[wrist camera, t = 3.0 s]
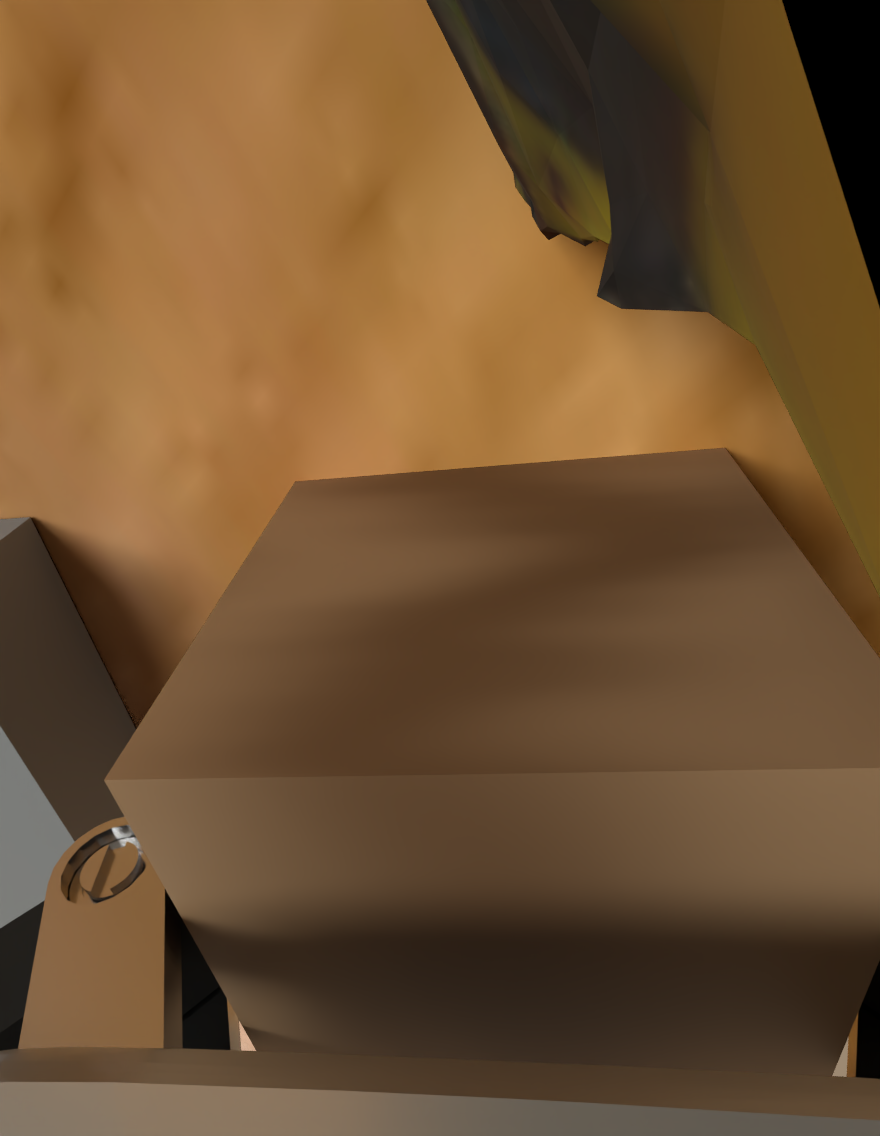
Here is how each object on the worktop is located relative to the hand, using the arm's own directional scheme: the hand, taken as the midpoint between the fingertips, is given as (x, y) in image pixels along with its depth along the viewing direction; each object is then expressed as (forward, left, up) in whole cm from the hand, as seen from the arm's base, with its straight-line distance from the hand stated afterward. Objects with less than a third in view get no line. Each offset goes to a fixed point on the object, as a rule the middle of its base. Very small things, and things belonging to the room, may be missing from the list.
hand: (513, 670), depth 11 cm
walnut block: (0, 0, -1) cm, 1 cm away
